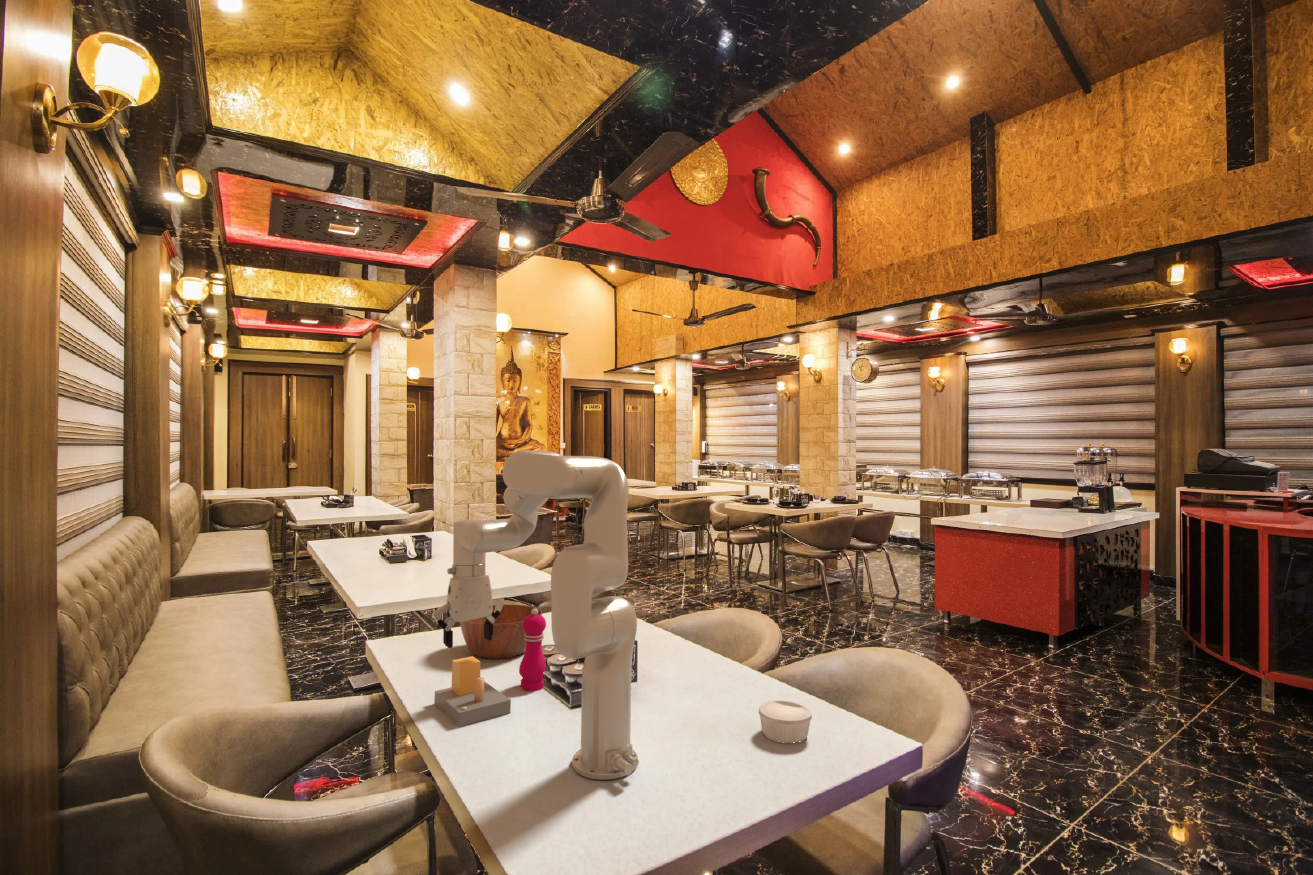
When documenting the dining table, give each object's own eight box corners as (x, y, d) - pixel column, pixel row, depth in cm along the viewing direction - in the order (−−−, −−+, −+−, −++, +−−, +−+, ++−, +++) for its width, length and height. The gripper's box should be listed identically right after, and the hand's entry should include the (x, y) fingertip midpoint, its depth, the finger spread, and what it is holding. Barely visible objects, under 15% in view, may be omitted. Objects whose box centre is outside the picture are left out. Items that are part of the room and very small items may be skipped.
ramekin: (812, 727, 132) (812, 703, 132) (811, 750, 121) (811, 723, 122) (761, 720, 135) (761, 697, 135) (756, 742, 124) (756, 716, 125)
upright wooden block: (479, 691, 143) (480, 661, 143) (459, 695, 139) (460, 665, 140) (471, 684, 146) (472, 656, 147) (451, 689, 143) (452, 660, 144)
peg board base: (510, 713, 137) (511, 677, 138) (459, 726, 130) (460, 689, 130) (482, 692, 150) (483, 660, 150) (434, 703, 142) (435, 669, 143)
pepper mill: (550, 682, 157) (552, 605, 158) (542, 692, 150) (544, 612, 151) (523, 680, 158) (525, 604, 159) (514, 690, 151) (516, 611, 152)
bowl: (518, 635, 201) (519, 601, 202) (556, 653, 182) (557, 615, 182) (445, 648, 185) (446, 611, 186) (477, 670, 166) (479, 628, 167)
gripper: (438, 576, 136) (438, 653, 135) (509, 569, 147) (508, 639, 146) (428, 573, 142) (427, 646, 141) (496, 565, 153) (496, 633, 152)
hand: (468, 642), depth 143 cm, fingers open, 9 cm apart
